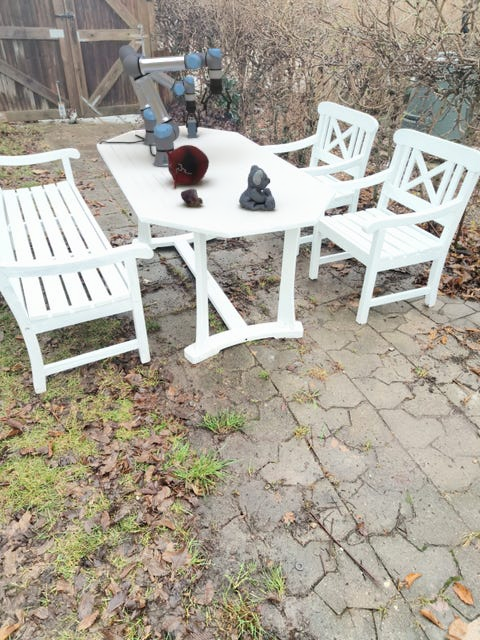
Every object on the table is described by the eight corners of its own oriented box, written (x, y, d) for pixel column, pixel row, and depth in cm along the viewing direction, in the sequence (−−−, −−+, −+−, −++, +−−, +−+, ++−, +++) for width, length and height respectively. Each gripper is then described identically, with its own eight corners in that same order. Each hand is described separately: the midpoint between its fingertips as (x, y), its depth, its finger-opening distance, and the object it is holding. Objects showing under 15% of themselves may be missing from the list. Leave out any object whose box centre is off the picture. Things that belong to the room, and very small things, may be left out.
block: (196, 137, 354) (195, 122, 348) (188, 138, 354) (187, 122, 347) (196, 135, 362) (196, 119, 355) (189, 135, 361) (188, 120, 355)
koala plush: (276, 211, 223) (277, 171, 212) (240, 212, 222) (240, 172, 211) (271, 199, 237) (272, 161, 226) (237, 200, 236) (237, 162, 225)
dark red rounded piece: (166, 150, 266) (161, 149, 242) (205, 142, 265) (203, 139, 241) (175, 187, 273) (171, 189, 249) (213, 178, 272) (212, 180, 248)
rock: (196, 202, 238) (178, 205, 233) (194, 185, 234) (176, 188, 230) (205, 205, 228) (187, 208, 224) (203, 188, 224) (185, 191, 220)
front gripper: (235, 77, 278) (236, 114, 290) (195, 77, 277) (197, 114, 289) (236, 78, 272) (236, 116, 284) (195, 79, 271) (197, 117, 283)
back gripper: (203, 99, 346) (204, 131, 359) (178, 99, 346) (180, 131, 359) (203, 100, 340) (204, 133, 353) (177, 101, 339) (180, 133, 352)
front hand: (217, 115), depth 287 cm, fingers open, 13 cm apart
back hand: (192, 132), depth 356 cm, fingers closed on block, 6 cm apart
